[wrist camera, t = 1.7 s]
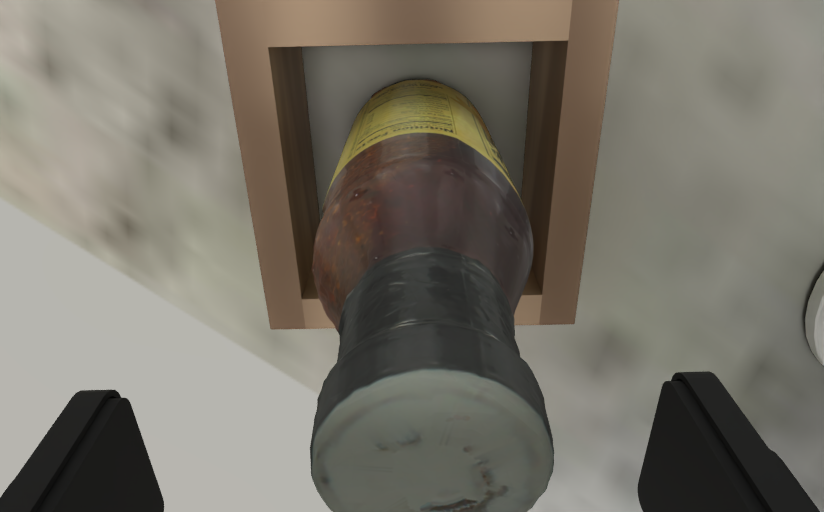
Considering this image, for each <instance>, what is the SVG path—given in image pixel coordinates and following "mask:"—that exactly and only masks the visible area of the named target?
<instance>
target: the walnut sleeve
mask: <svg viewBox="0 0 824 512" xmlns="http://www.w3.org/2000/svg"><path fill="white" fill-rule="evenodd" d="M215 2H216V8H217V14H218V20H219V26H220V32H221V38H222V44H223V50H224V56H225V62H226V68H227V73H228V79H229V85H230V91H231V97H232V103H233V109H234V115H235V121H236V127H237V133H238V139H239V145H240V150H241V156H242V162H243V168H244V174H245V180H246V186H247V192H248V198H249V204H250V210H251V216H252V221H253V227H254V233H255V239H256V245H257V251H258V257H259V263H260V269H261V275H262V281H263V287H264V292H265V298H266V304H267V310H268V316H269V322H270V328H271V329H319V328H335V326H334V324H333V322H332V321H331V320H330V319H329V318H328V317H327V315H326V313H325V311H324V309H323V306H322V303H321V301H320V300H319V298H318V292H317V288H316V285H315V282H314V275H313V272H312V268H311V267H312V263H313V253H314V248H313V247H314V243H315V238H316V233H317V229H318V227H319V224H320V217H319V207H318V198H317V189H316V179H315V170H314V161H313V151H312V142H311V133H310V123H309V114H308V105H307V95H306V86H305V77H304V67H303V58H302V49H301V46H341V45H386V44H432V43H477V42H522V41H533V48H532V61H531V75H530V88H529V101H528V114H527V128H526V141H525V154H524V168H523V181H522V194H521V200H522V203H523V205H524V207H525V210H526V212H527V215H528V218H529V222H530V225H531V230H532V235H533V260H532V266H531V270H530V273H529V277H528V280H527V283H526V285H525V288H524V290H523V293H522V295H521V298H520V300H519V303H518V305H517V308H516V310H515V313H514V319H515V321H514V325H552V324H574V323H575V316H576V308H577V301H578V294H579V287H580V279H581V272H582V265H583V258H584V250H585V243H586V236H587V229H588V222H589V214H590V207H591V200H592V193H593V185H594V178H595V171H596V164H597V156H598V149H599V142H600V135H601V128H602V120H603V113H604V106H605V99H606V91H607V84H608V77H609V70H610V62H611V55H612V48H613V41H614V33H615V26H616V19H617V12H618V5H619V0H215Z"/></svg>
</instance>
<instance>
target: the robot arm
mask: <svg viewBox="0 0 824 512" xmlns="http://www.w3.org/2000/svg"><path fill="white" fill-rule="evenodd" d="M805 326H806V337H807V340H808V343H809V346H810V349H811V351H812V352H813V354H814V355H815V356H816V358H817V359H818V361H819V362H820V363H821V364H822V365H823V366H824V271H823V272H822V274H821V275H820V277H819V279H818V280H817V282H816V284H815V287H814V289H813V291H812V294H811V296H810V298H809V301H808V306H807V311H806V317H805ZM638 497H639V501H640V505H641V508H642V510H643V512H820V511H819V510H818V508H817V507H816V506H815V504H814V503H813V502H812V500H811V499H810V497H809V496H808V495H807V493H806V492H805V491H804V489H803V488H802V487H801V485H800V484H799V482H798V481H797V480H796V478H795V477H794V476H793V474H792V473H791V472H790V470H789V469H788V467H787V466H786V465H785V463H784V462H783V461H782V460H781V458H780V457H779V456H778V455H777V454H776V453H775V452H773V451H772V450H770V449H769V448H768V447H767V446H766V444H765V443H764V441H763V440H762V439H761V437H760V436H759V434H758V433H757V432H756V430H755V429H754V428H753V426H752V425H751V423H750V422H749V421H748V419H747V418H746V416H745V415H744V414H743V412H742V411H741V410H740V408H739V407H738V405H737V404H736V403H735V401H734V400H733V398H732V397H731V396H730V394H729V393H728V392H727V390H726V389H725V387H724V386H723V385H722V383H721V382H720V381H719V379H718V378H717V377H716V376H715V375H714V373H712V372H679V373H675V374H674V375H673V377H672V380H671V381H666V382H664V384H663V386H662V389H661V393H660V397H659V401H658V405H657V409H656V413H655V418H654V422H653V426H652V430H651V434H650V438H649V442H648V446H647V450H646V454H645V458H644V462H643V466H642V470H641V474H640V478H639V482H638ZM0 512H164V501H163V498H162V494H161V491H160V488H159V485H158V483H157V480H156V477H155V474H154V471H153V468H152V465H151V462H150V459H149V456H148V453H147V450H146V448H145V445H144V442H143V439H142V436H141V433H140V430H139V428H138V424H137V421H136V418H135V416H134V413H133V410H132V407H131V404H130V402H129V400H128V399H127V398H121V397H120V394H119V393H118V392H117V391H116V390H88V391H79V392H77V393H76V394H75V395H74V396H73V397H72V398H71V400H70V401H69V403H68V404H67V406H66V407H65V408H64V410H63V411H62V413H61V414H60V416H59V417H58V418H57V420H56V421H55V423H54V424H53V425H52V427H51V428H50V430H49V431H48V432H47V434H46V435H45V437H44V438H43V440H42V441H41V442H40V444H39V445H38V447H37V448H36V450H35V451H34V452H33V454H32V455H31V457H30V458H29V459H28V461H27V462H26V464H25V465H24V467H23V468H22V469H21V471H20V472H19V474H18V475H17V476H16V478H15V479H14V480H13V482H12V483H11V484H10V485H9V486H8V488H7V489H6V490H5V492H4V493H3V495H2V496H1V498H0Z"/></svg>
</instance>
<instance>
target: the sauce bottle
mask: <svg viewBox="0 0 824 512" xmlns="http://www.w3.org/2000/svg"><path fill="white" fill-rule="evenodd" d="M323 213H324V215H323V218H322V219H321V221H320V224H319V227H318V229H317V233H316V238H315V243H314V247H313V248H314V253H313V263H312V267H311V268H312V272H313V275H314V282H315V285H316V288H317V292H318V298H319V300H320V301H321V303H322V306H323V309H324V311H325V313H326V315H327V317H328V318H329V319H330V320H331V321H332V322H333V324H334V326H335V328H336V330H337V331H338V333H339V335H340V346H339V353H338V360H337V363H336V364H335V366H334V367H333V368H332V369H331V371H330V372H329V374H328V376H327V378H326V379H325V380H324V383H323V386H322V390H321V392H320V395H319V397H318V406H317V412H316V415H315V419H314V427H313V433H312V440H311V447H310V455H311V476H312V479H313V481H314V484H315V486H316V488H317V491H318V493H319V494H320V496H321V498H322V499H323V501H324V502H325V503H326V505H327V506H328V507H329V508H330V510H331V511H333V512H527V511H528V510H529V509H531V508H532V507H533V505H534V504H535V502H536V501H537V499H538V498H539V497H540V496H541V495H542V494H543V493H544V492H545V490H546V489H547V486H548V482H549V480H550V477H551V475H552V472H553V464H554V448H553V438H552V434H551V430H550V425H549V421H548V418H547V414H546V409H545V403H544V397H543V395H542V392H541V389H540V387H539V385H538V382H537V380H536V378H535V376H534V374H533V372H532V370H531V369H530V367H529V366H528V364H527V363H526V362H525V361H524V360H523V359H522V358H520V353H519V349H518V347H517V344H516V341H515V339H514V336H515V330H514V321H515V319H514V313H515V310H516V308H517V305H518V303H519V300H520V298H521V295H522V293H523V290H524V288H525V285H526V283H527V280H528V277H529V273H530V270H531V266H532V260H533V235H532V230H531V225H530V222H529V218H528V215H527V212H526V210H525V207H524V205H523V203H522V200H521V198H520V196H519V194H518V192H517V190H516V188H515V186H514V184H513V182H512V180H511V178H510V175H509V173H508V171H507V169H506V167H505V164H504V162H503V160H502V158H501V155H500V154H499V152H498V151H497V149H496V147H495V145H494V143H493V140H492V138H491V136H490V134H489V132H488V130H487V128H486V126H485V124H484V122H483V120H482V118H481V116H480V114H479V113H478V111H477V110H476V108H475V107H474V106H473V105H472V103H471V102H470V101H469V100H468V99H467V98H466V97H465V96H463V95H462V94H461V93H459V92H458V91H456V90H454V89H452V88H450V87H448V86H445V85H443V84H441V83H439V82H437V81H434V80H427V79H425V80H406V81H403V82H400V83H397V84H394V85H392V86H389V87H385V88H383V89H382V90H380V91H378V92H377V93H375V94H374V95H373V96H372V98H371V99H370V100H369V101H368V102H367V103H366V104H365V105H364V107H363V108H362V109H361V110H360V112H359V114H358V115H357V117H356V119H355V121H354V123H353V125H352V128H351V131H350V133H349V136H348V139H347V141H346V144H345V146H344V149H343V152H342V154H341V157H340V160H339V162H338V165H337V168H336V171H335V173H334V176H333V179H332V181H331V184H330V187H329V189H328V192H327V195H326V198H325V201H324V205H323Z"/></svg>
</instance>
